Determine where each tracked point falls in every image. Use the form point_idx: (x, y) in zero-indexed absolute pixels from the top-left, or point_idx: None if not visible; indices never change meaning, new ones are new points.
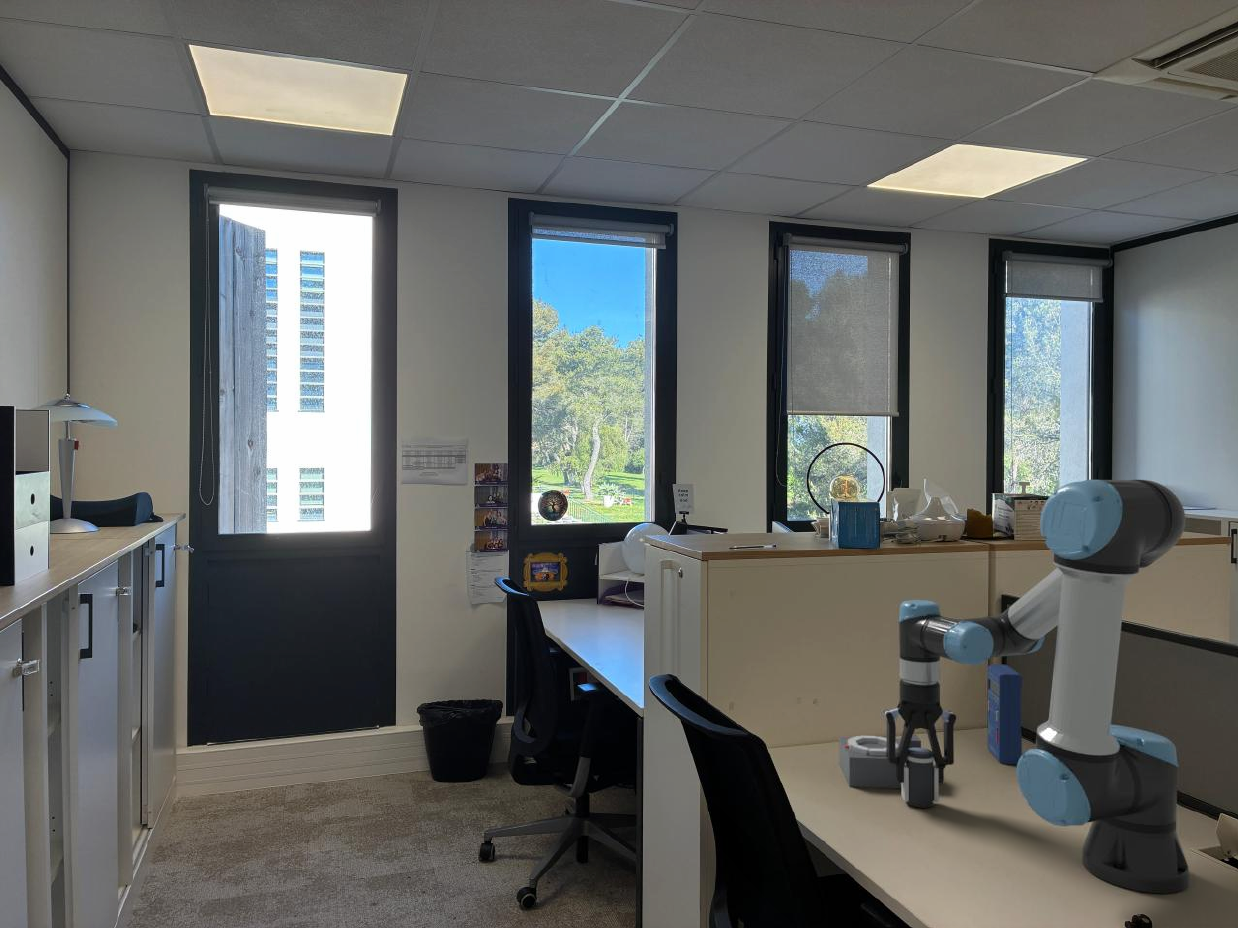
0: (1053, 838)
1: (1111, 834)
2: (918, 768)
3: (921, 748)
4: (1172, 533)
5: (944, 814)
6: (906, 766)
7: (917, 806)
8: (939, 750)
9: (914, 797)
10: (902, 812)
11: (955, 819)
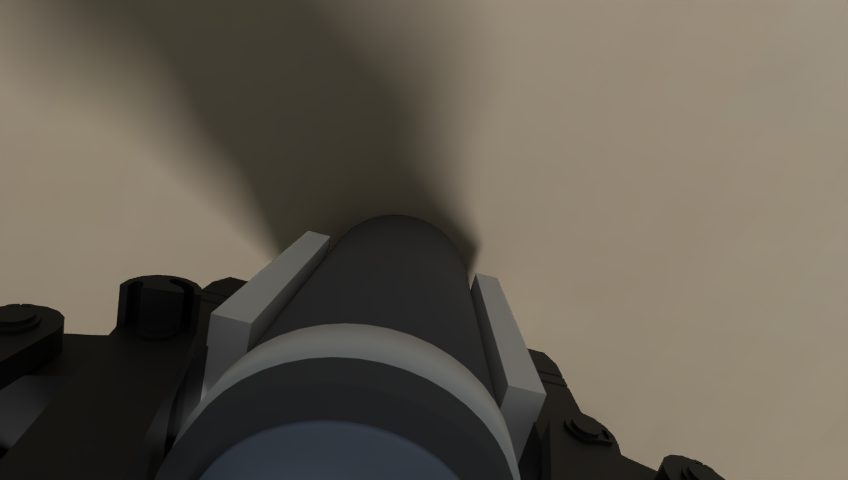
0: None
1: None
2: (439, 322)
3: None
4: None
5: (330, 126)
6: (508, 420)
7: (440, 231)
8: (30, 454)
9: (455, 256)
10: (551, 193)
11: (300, 45)
